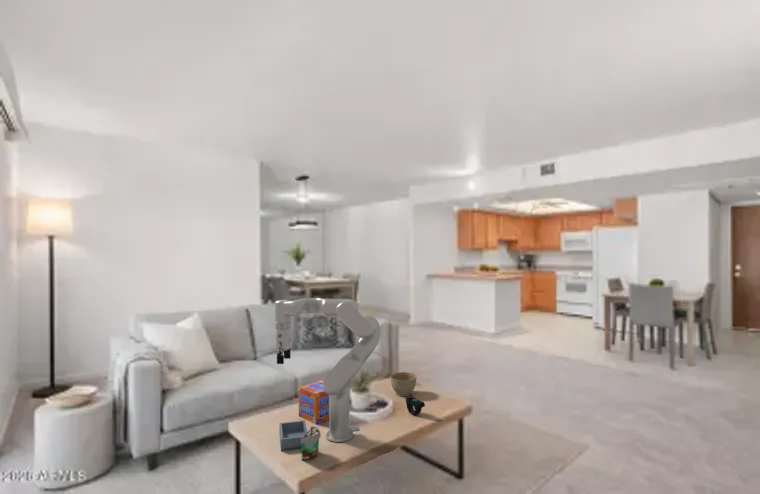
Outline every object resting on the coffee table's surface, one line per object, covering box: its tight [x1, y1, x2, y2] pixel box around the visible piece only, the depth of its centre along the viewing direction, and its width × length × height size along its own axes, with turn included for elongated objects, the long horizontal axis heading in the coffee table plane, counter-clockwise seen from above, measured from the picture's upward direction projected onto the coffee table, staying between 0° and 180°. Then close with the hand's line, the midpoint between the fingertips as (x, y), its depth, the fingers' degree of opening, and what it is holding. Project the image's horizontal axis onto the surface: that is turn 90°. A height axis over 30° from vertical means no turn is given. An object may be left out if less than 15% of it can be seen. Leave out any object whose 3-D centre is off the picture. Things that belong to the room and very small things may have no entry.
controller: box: [404, 393, 426, 416], centre depth 220 cm, size 4×12×10 cm, turn 38°
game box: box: [298, 379, 329, 425], centre depth 219 cm, size 16×16×16 cm
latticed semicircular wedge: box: [301, 425, 322, 462], centre depth 177 cm, size 12×6×10 cm, turn 168°
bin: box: [278, 419, 309, 452], centre depth 191 cm, size 12×18×5 cm, turn 16°
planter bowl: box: [389, 371, 418, 397], centre depth 252 cm, size 16×16×11 cm
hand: (283, 361), depth 201 cm, fingers open, 9 cm apart
